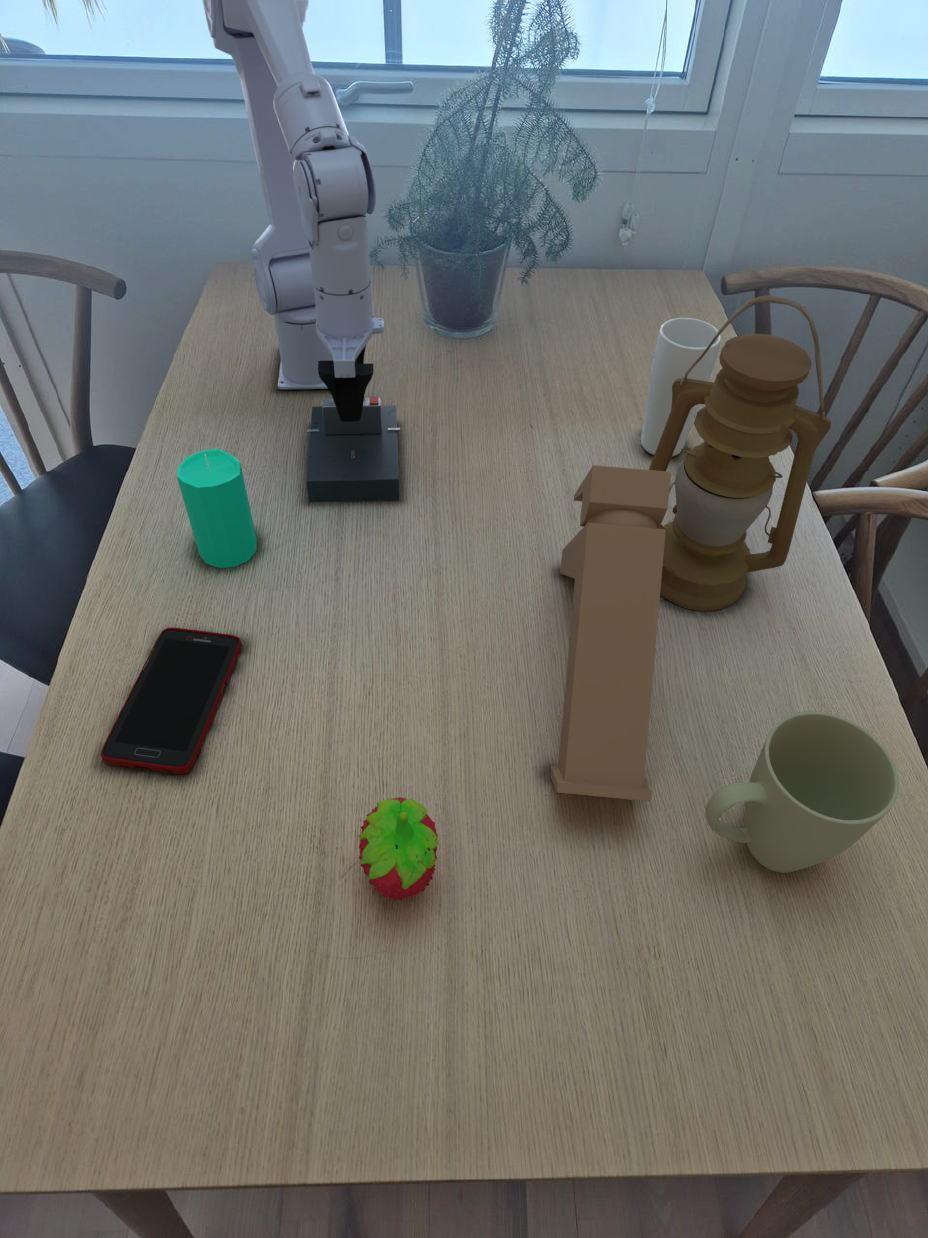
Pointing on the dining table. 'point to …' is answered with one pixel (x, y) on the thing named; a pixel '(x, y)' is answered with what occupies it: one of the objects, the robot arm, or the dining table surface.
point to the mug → (809, 792)
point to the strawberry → (398, 848)
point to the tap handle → (366, 425)
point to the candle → (218, 507)
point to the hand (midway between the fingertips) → (351, 399)
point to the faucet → (612, 632)
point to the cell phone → (173, 701)
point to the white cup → (676, 374)
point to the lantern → (736, 463)
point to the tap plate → (353, 462)
